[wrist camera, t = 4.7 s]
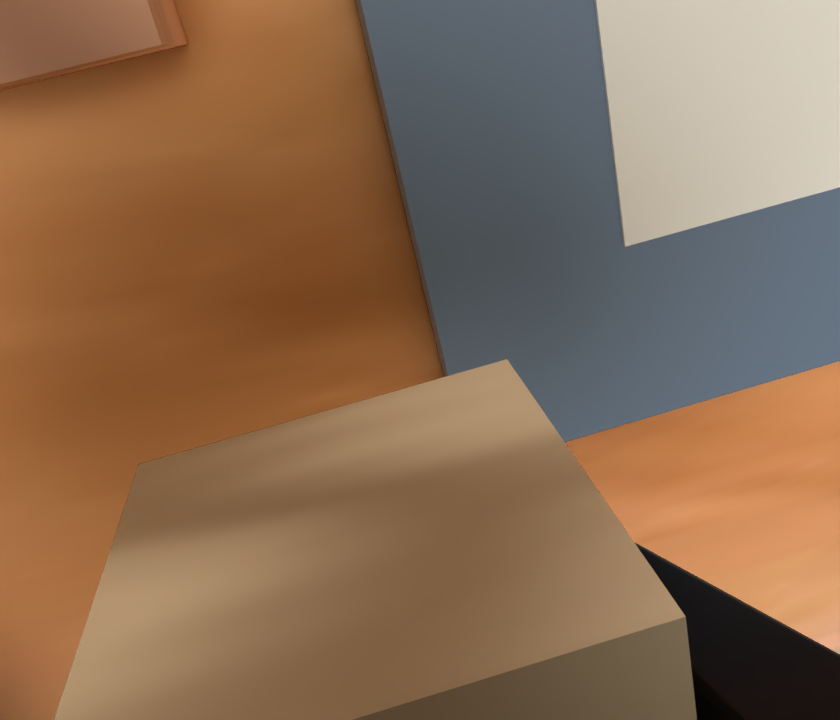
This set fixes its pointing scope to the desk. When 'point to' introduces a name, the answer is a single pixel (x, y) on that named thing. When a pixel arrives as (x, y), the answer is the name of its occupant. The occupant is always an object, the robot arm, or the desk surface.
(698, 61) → the board
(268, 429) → the off-white block
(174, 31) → the terracotta block
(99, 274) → the desk surface
